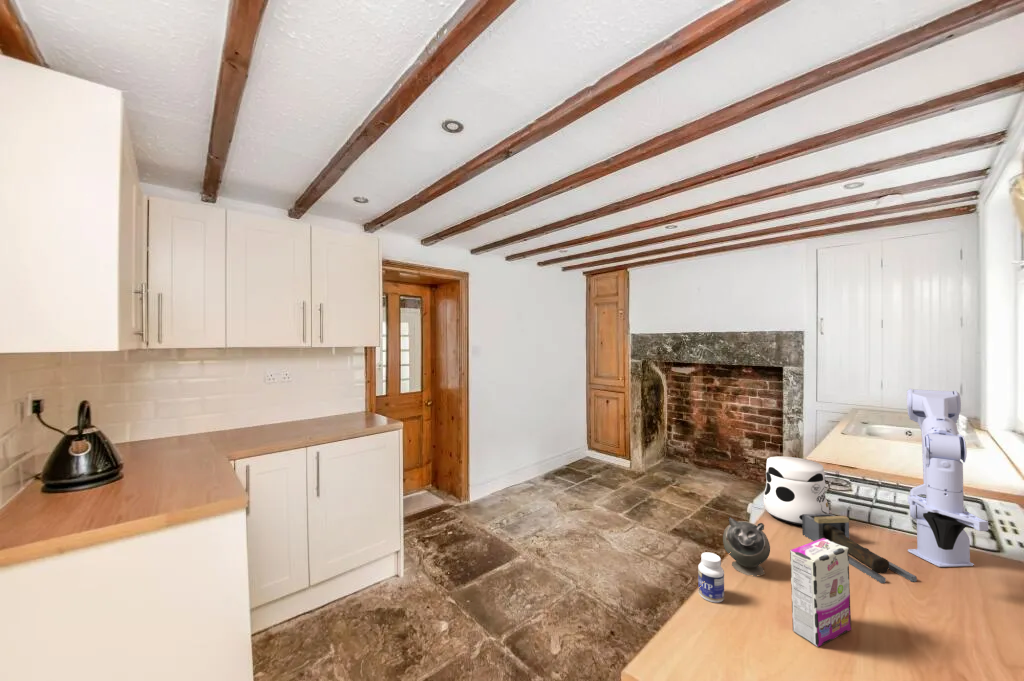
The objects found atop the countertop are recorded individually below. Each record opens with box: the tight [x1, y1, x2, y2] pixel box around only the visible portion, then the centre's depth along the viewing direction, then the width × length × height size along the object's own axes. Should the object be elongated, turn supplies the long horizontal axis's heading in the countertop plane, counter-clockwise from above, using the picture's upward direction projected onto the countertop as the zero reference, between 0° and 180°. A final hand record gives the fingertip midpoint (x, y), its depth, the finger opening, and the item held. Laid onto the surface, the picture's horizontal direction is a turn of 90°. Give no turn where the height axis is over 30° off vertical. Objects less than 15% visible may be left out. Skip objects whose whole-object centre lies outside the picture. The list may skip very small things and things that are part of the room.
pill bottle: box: [697, 551, 725, 603], centre depth 91 cm, size 5×5×9 cm
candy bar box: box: [789, 537, 852, 648], centre depth 79 cm, size 11×5×16 cm, turn 114°
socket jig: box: [801, 512, 918, 584], centre depth 107 cm, size 9×24×7 cm, turn 3°
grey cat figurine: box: [722, 516, 771, 577], centre depth 101 cm, size 10×12×10 cm
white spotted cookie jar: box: [762, 455, 830, 526], centre depth 129 cm, size 17×17×18 cm
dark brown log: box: [823, 524, 890, 574], centre depth 108 cm, size 19×4×5 cm, turn 176°
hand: (945, 548), depth 90 cm, fingers closed
